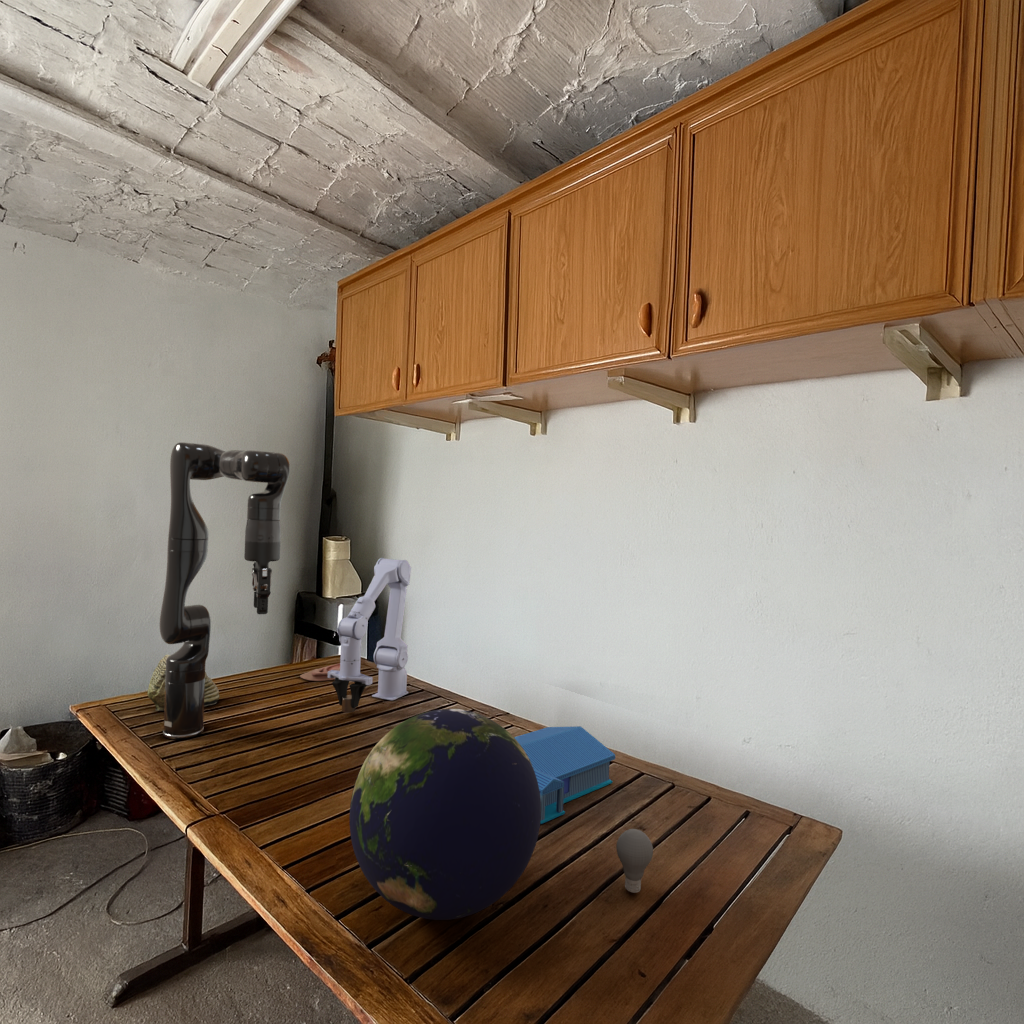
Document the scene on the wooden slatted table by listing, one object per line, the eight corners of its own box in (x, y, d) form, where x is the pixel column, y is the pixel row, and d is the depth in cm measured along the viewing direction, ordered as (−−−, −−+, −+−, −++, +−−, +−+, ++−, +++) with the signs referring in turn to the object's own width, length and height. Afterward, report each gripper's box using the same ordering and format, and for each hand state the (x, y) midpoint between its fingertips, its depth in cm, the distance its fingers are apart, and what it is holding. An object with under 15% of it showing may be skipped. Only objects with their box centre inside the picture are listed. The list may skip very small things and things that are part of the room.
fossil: (144, 707, 182) (145, 655, 182) (212, 696, 194) (213, 647, 194) (151, 716, 175) (153, 662, 175) (221, 703, 188) (223, 653, 188)
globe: (303, 931, 92) (311, 727, 92) (410, 834, 120) (417, 677, 120) (490, 1000, 81) (500, 768, 81) (561, 876, 109) (569, 702, 108)
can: (338, 710, 183) (339, 697, 183) (348, 707, 186) (349, 694, 186) (348, 713, 181) (348, 699, 181) (358, 710, 184) (358, 696, 184)
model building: (493, 845, 118) (495, 791, 117) (419, 795, 136) (421, 749, 136) (624, 787, 144) (626, 744, 144) (547, 752, 162) (548, 713, 162)
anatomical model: (295, 667, 216) (312, 659, 227) (295, 679, 216) (312, 670, 227) (331, 671, 213) (346, 663, 224) (330, 683, 213) (346, 674, 224)
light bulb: (610, 879, 108) (613, 822, 108) (644, 879, 109) (647, 822, 109) (619, 902, 102) (622, 840, 102) (655, 901, 103) (658, 840, 103)
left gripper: (284, 542, 139) (281, 615, 139) (276, 537, 152) (274, 604, 152) (247, 541, 136) (244, 617, 136) (242, 537, 148) (240, 606, 149)
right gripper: (321, 658, 183) (319, 705, 183) (362, 665, 177) (360, 714, 177) (337, 653, 189) (335, 698, 189) (377, 660, 183) (375, 707, 184)
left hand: (260, 610), depth 144 cm, fingers open, 8 cm apart
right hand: (348, 705), depth 184 cm, fingers closed on can, 4 cm apart
